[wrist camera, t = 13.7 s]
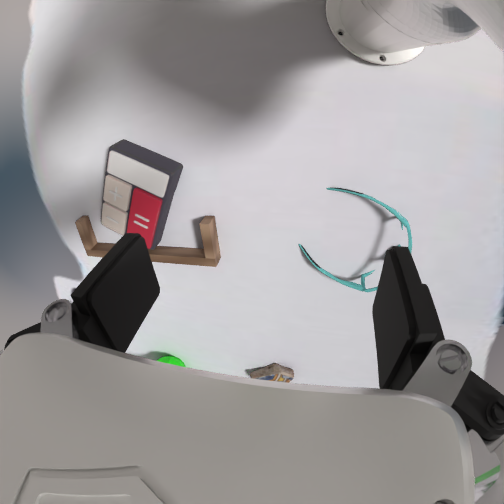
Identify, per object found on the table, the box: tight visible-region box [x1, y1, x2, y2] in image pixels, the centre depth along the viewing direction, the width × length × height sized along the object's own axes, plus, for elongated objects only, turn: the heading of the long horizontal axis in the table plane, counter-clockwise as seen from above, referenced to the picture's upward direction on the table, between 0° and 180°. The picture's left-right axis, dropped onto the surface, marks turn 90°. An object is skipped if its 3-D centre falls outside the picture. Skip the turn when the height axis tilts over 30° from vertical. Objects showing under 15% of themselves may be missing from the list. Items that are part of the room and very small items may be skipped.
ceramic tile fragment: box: [250, 363, 294, 383], centre depth 64 cm, size 12×3×10 cm
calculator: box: [101, 139, 183, 250], centre depth 42 cm, size 11×4×15 cm
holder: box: [75, 216, 221, 267], centre depth 47 cm, size 8×27×2 cm, turn 94°
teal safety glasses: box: [299, 188, 412, 292], centre depth 39 cm, size 14×15×5 cm
